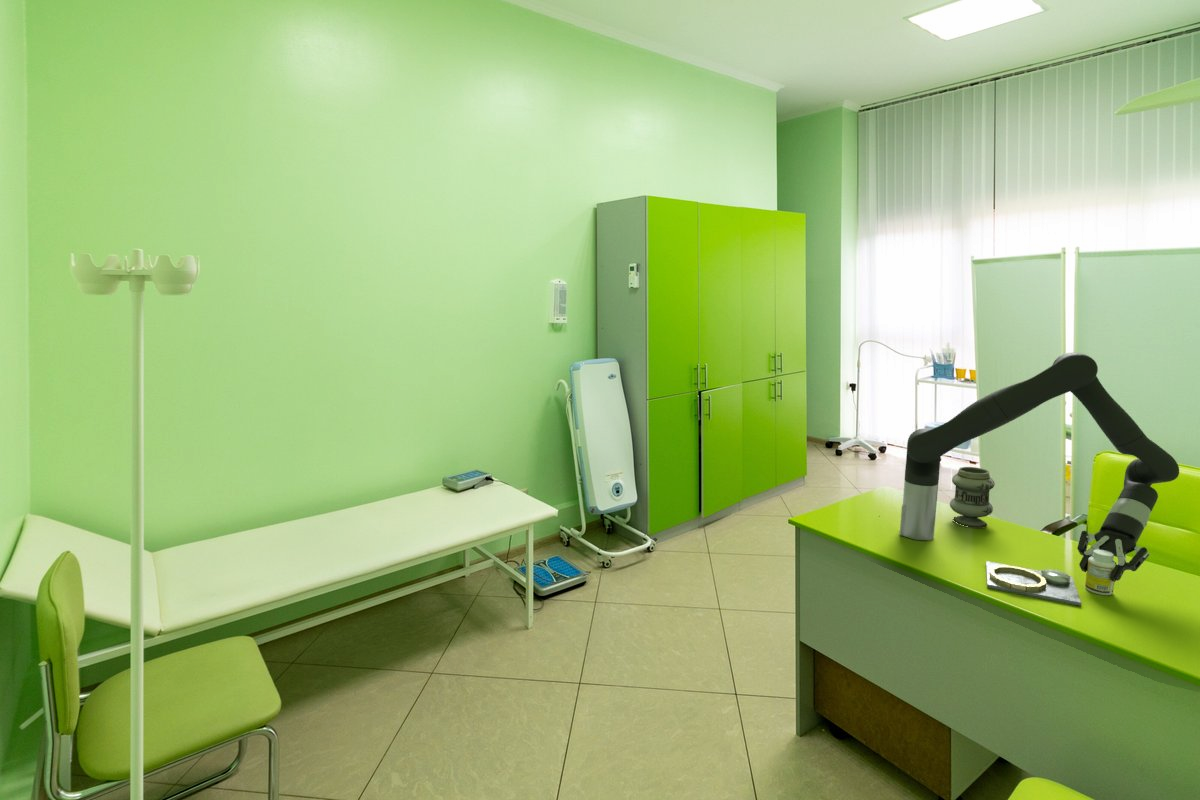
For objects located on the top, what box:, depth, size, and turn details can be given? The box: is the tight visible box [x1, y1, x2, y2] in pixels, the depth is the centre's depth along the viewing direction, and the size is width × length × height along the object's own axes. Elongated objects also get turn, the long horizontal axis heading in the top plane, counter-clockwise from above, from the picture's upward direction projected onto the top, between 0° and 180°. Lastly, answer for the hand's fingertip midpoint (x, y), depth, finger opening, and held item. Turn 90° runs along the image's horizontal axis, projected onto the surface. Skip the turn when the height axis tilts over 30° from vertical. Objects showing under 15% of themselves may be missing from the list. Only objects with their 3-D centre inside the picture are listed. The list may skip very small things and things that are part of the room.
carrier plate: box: [985, 560, 1082, 607], centre depth 158 cm, size 19×16×2 cm
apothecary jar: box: [949, 466, 996, 529], centre depth 199 cm, size 12×12×18 cm
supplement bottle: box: [1084, 550, 1118, 596], centre depth 154 cm, size 6×6×10 cm
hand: (1097, 574), depth 153 cm, fingers closed on supplement bottle, 5 cm apart
